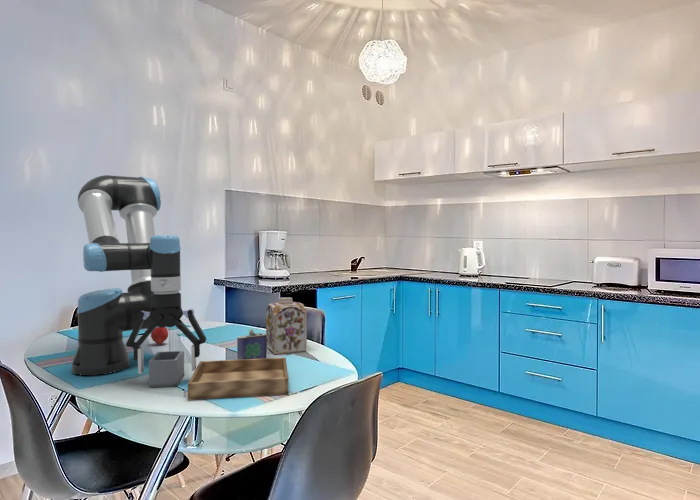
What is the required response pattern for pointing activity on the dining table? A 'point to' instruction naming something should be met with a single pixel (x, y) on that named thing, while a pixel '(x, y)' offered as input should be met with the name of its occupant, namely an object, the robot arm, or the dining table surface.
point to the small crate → (166, 369)
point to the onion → (159, 335)
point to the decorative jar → (286, 326)
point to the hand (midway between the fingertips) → (167, 370)
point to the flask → (252, 346)
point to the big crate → (239, 378)
